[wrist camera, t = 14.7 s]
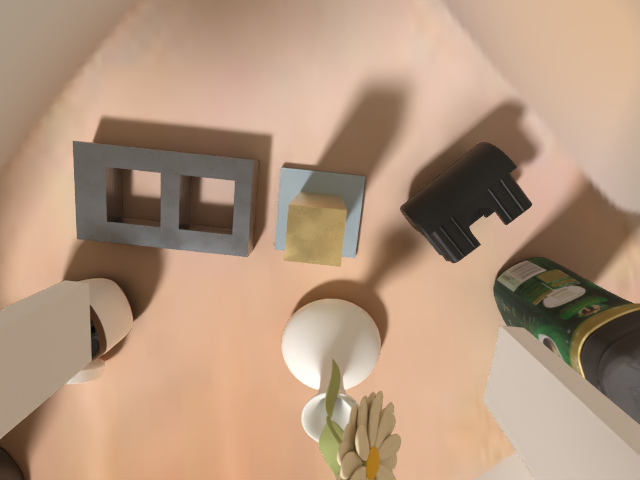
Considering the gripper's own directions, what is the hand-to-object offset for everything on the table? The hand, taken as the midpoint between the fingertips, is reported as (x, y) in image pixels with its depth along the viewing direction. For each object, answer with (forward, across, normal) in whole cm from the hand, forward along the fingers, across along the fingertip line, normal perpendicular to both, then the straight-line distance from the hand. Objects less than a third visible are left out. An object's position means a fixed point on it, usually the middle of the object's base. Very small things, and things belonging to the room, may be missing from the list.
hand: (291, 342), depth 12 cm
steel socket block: (+29, +16, 0) cm, 33 cm away
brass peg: (+28, 0, 0) cm, 28 cm away
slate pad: (+29, 0, 0) cm, 29 cm away
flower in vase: (+29, -3, +14) cm, 32 cm away
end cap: (+29, -14, -3) cm, 33 cm away
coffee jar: (+29, -25, +7) cm, 39 cm away
